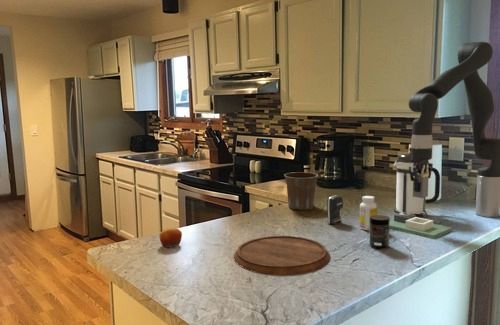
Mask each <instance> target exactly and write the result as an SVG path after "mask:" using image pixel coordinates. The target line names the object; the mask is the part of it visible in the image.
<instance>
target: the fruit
mask: <svg viewBox="0 0 500 325" xmlns="http://www.w3.org/2000/svg"><path fill="white" fill-rule="evenodd" d="M182 233H183V231H182V230H180V229H179V228H176V227H168V228H166V229H164V230H162V231H161V232H160V233H159V241H160V244H161V245H162V247H164V248H167V247H170V248H171V246H172V247H177V246H179V245H180V243H181V241H182V236H183V234H182Z"/></svg>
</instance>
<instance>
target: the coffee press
mask: <svg viewBox="0 0 500 325" xmlns="http://www.w3.org/2000/svg"><path fill="white" fill-rule="evenodd" d="M408 151H409V152H401V153H400V154H398V155H397V158H395V162H394V163H393V167H396V168H395V170H396V171H395V172H396V192H395V193H396V195H395V196H396V202H395V204H396V205H395V207H394V209H393V212H394V213H397V212H399V213H401V212H406V213H410V214H412V215H419V214H421V216H422V217H424V218H427V217H428V216H429V214H428V213H427V212H426V204H433V203H435V202H437V200H438V199H439V197H440V191H441V190H440V188H441V175H440V172H439V170H438V169H437V168H435V167H433V166H432V173H433V174H434V177H435V178H434V195H433V196H432V197H431V198H426V197H425V198H419V197H413V181H411V178H410V172H409V167H412V166H413V163H414V159H411V147H409V149H408Z"/></svg>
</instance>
